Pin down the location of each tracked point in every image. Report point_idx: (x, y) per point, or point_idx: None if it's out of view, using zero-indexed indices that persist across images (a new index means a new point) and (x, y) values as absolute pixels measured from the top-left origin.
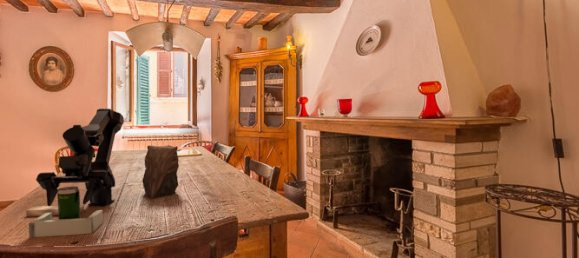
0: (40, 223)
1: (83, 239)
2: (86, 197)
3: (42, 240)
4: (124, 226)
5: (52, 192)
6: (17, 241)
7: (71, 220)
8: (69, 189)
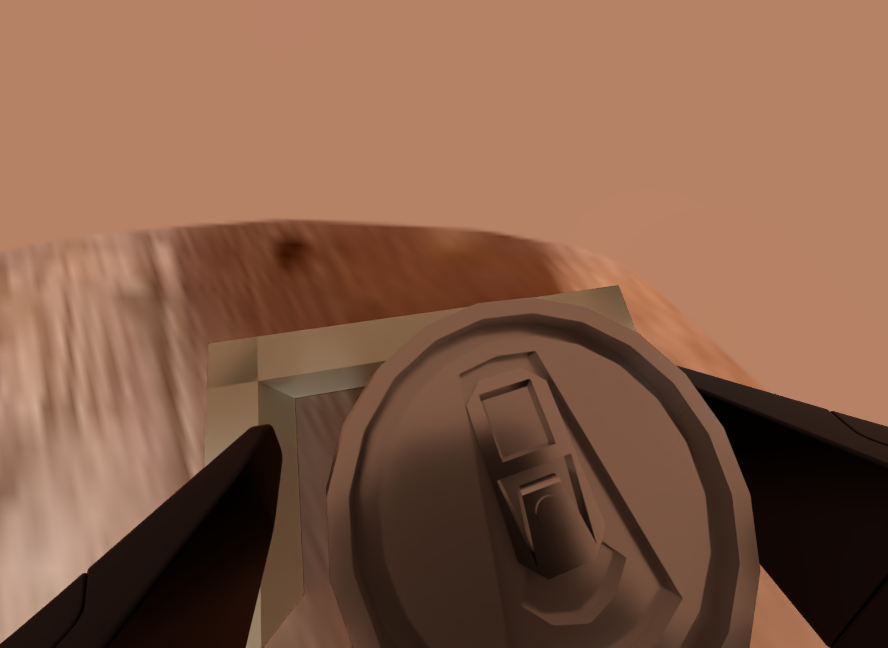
0: (549, 296)
1: (265, 284)
2: (200, 477)
3: (476, 281)
4: (52, 507)
5: (822, 497)
6: (588, 275)
7: (356, 325)
8: (442, 375)
